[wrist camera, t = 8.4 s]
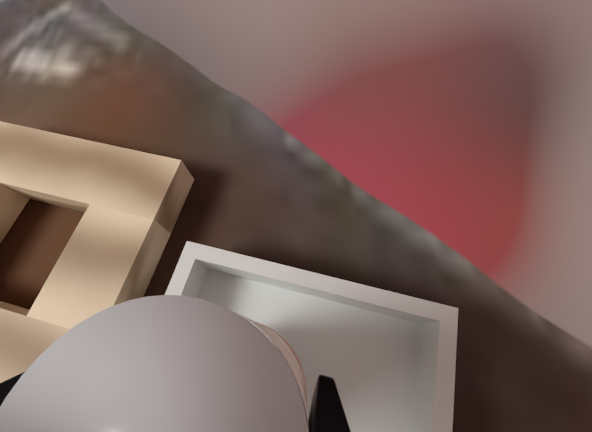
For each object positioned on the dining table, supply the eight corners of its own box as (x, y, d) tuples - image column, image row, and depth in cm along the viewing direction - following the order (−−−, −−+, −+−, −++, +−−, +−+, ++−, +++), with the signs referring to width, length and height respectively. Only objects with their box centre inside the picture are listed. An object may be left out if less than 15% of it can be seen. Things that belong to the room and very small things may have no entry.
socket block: (89, 420, 16) (52, 434, 14) (-138, 344, 18) (-204, 345, 15) (194, 179, 21) (181, 160, 19) (13, 139, 23) (-19, 117, 21)
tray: (401, 658, 12) (436, 770, 9) (99, 541, 14) (38, 601, 11) (430, 314, 18) (458, 308, 14) (206, 257, 19) (186, 240, 16)
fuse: (289, 464, 13) (251, 840, 3) (180, 428, 13) (-137, 653, 4) (316, 340, 15) (343, 336, 5) (219, 314, 15) (76, 263, 6)
